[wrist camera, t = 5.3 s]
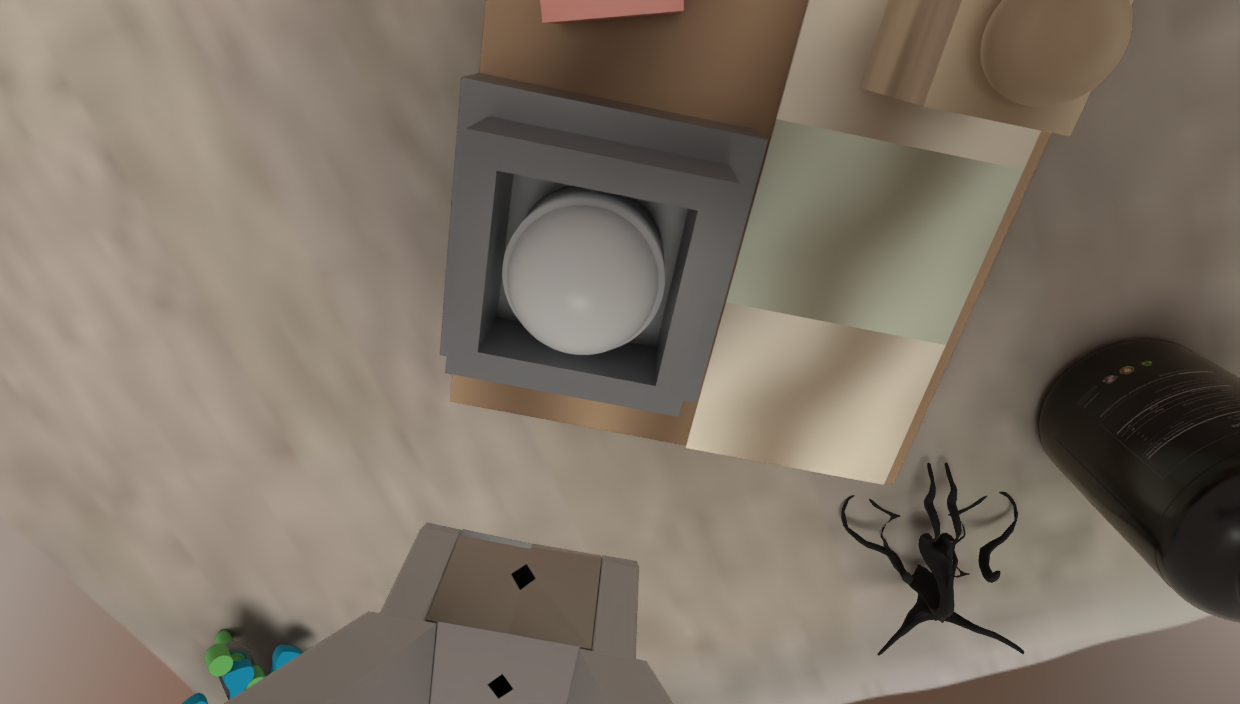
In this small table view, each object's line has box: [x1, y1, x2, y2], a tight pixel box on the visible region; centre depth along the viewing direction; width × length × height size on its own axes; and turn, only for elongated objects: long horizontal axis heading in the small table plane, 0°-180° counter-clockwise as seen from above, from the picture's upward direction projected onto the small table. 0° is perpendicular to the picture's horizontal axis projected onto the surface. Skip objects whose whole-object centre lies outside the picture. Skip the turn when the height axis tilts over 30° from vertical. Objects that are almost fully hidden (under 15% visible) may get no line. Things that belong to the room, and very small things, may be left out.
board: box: [450, 0, 1052, 485], centre depth 25 cm, size 20×21×1 cm
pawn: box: [861, 0, 1134, 137], centre depth 18 cm, size 4×4×8 cm
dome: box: [502, 186, 665, 355], centre depth 21 cm, size 5×5×5 cm
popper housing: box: [440, 73, 768, 417], centre depth 24 cm, size 10×10×6 cm
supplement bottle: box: [1039, 340, 1240, 623], centre depth 23 cm, size 7×7×12 cm
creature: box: [841, 463, 1024, 655], centre depth 30 cm, size 8×5×8 cm
